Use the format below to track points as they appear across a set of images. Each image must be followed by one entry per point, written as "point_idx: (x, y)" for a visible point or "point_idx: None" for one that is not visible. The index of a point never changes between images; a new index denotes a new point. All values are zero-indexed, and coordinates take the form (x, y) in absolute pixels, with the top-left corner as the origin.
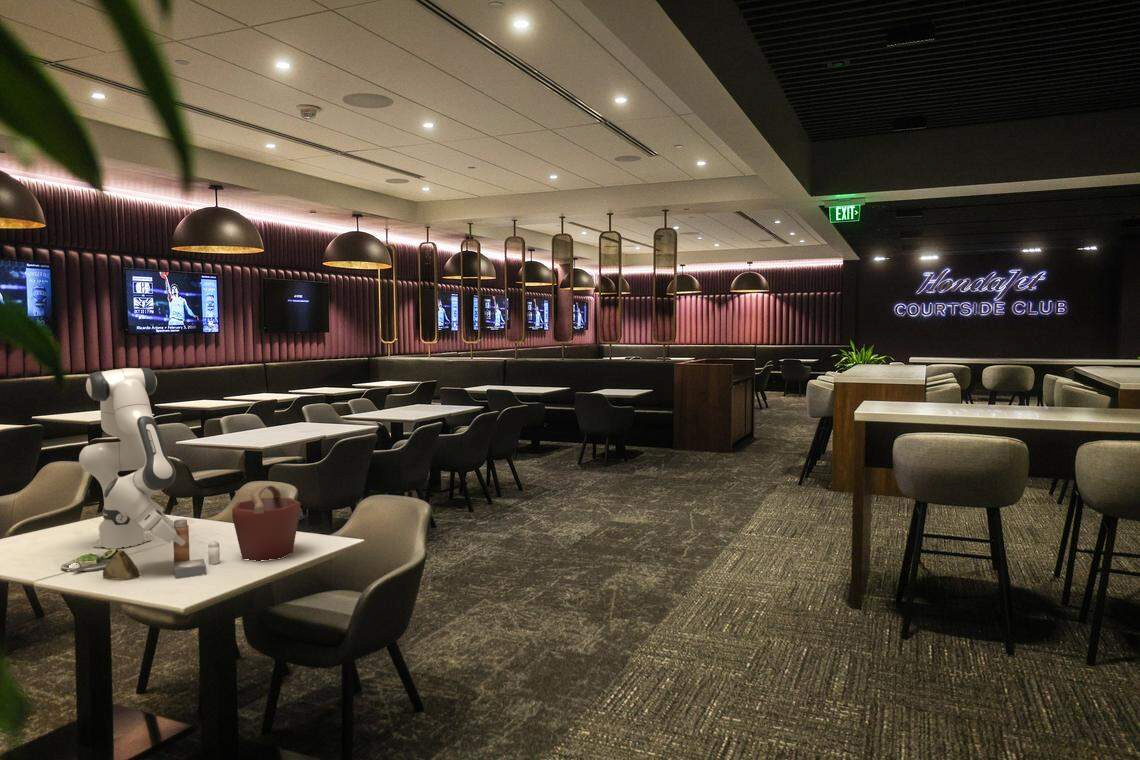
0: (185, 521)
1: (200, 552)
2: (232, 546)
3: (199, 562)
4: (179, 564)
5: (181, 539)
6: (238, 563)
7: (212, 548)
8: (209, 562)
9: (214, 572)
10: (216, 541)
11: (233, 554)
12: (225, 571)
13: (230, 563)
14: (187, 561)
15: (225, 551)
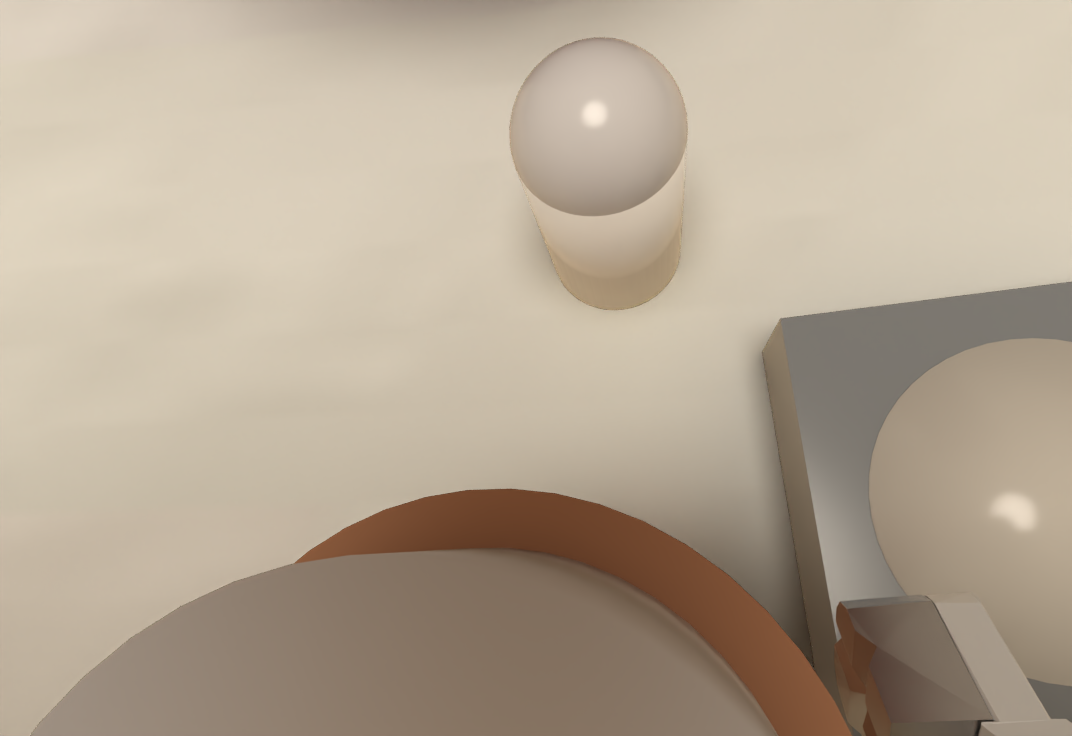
0: (714, 675)
1: (78, 423)
2: (31, 124)
3: (1010, 363)
4: (1046, 670)
5: (1040, 723)
6: (737, 4)
7: (683, 153)
8: (652, 288)
9: (1062, 217)
10: (588, 45)
11: (339, 87)
12: (1055, 101)
13: (702, 82)
14: (869, 545)
15: (180, 173)
